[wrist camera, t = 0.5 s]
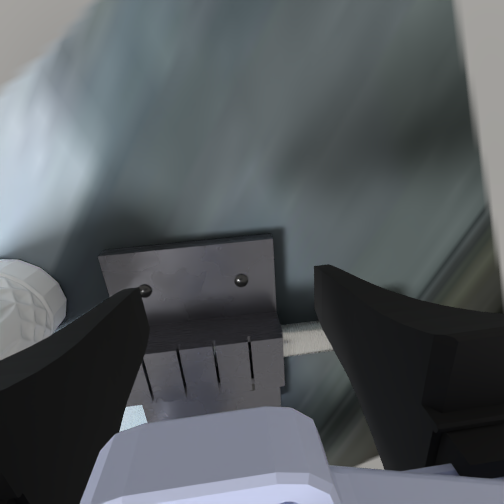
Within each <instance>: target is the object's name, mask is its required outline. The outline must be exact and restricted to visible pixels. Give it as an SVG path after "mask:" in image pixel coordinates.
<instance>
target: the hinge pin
mask: <svg viewBox="0 0 504 504" xmlns="http://www.w3.org/2000/svg"><path fill="white" fill-rule="evenodd" d="M281 328H282V331H283V352H284V357H290V356H298V355H306V354H314V353H322V352H330V351H334V349H333V348H332V346H331V344H330V342H329V340H328V339H327V337H326V335H325V333H324V331H323V329H322V327H321V325H320V322H319V321H311V322H303V323H294V324H286V325H281ZM213 348H214V354H215V360H216V366H218V362H217V355H216V349H215V346H213ZM248 349H249V360H250V361H252V352H251V342H248Z"/></svg>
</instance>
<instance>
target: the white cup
mask: <svg viewBox="0 0 504 504" xmlns="http://www.w3.org/2000/svg"><path fill="white" fill-rule="evenodd" d="M66 302H67V299H66V297H65V295H64V293H63V291H62V289H61V287H60V285H59V283H58V282H57V281H56V280H55V279H54V278H52V277H51V276H50V275H49V274H48V273H46V272H45V271H44V270H43V269H42V268H40V267H37V266H35V265H32V264H29V263H27V262H24V261H21V260H19V259H0V360H2V359H4V358H6V357H9V356H11V355H13V354H15V353H17V352H19V351H22V350H24V349H26V348H28V347H30V346H32V345H34V344H36V343H38V342H39V341H41V340H43V339H45V338H47V337H49V336H51V335H52V334H53V333H54V331H55V330H56V329H57V327H58V326H59V325H60V323H61V322H62V321H63V320H64V318H65V317H66Z"/></svg>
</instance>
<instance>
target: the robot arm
mask: <svg viewBox="0 0 504 504" xmlns="http://www.w3.org/2000/svg"><path fill="white" fill-rule="evenodd" d="M314 308H315V311H316V314H317V317H318V319H319V322H320V325H321V327H322V329H323V331H324V333H325V335H326V337H327V339H328V340H329V342H330V344H331V346H332V348H333V349H334V351H335V353H336V355H337V357H338V359H339V360H340V362H341V364H342V366H343V368H344V369H345V371H346V373H347V375H348V377H349V379H350V382H351V384H352V386H353V389H354V391H355V394H356V396H357V398H358V401H359V403H360V406H361V408H362V411H363V413H364V416H365V418H366V421H367V423H368V426H369V428H370V431H371V434H372V436H373V439H374V442H375V445H376V447H377V450H378V453H379V455H380V458H381V461H382V463H383V466H384V469H385V470H380V469H368V468H356V467H344V466H332V465H329V464H328V461H327V458H326V454H325V451H324V448H323V445H322V442H321V439H320V436H319V433H318V431H317V428H316V426H315V423H314V421H313V419H311V418H310V417H308V416H306V415H304V414H302V413H301V412H299V411H297V410H295V409H294V408H290V407H274V406H262V407H255V408H248V409H241V410H234V411H227V412H220V413H213V414H206V415H199V416H192V417H185V418H178V419H172V420H165V421H158V422H151V423H144V424H142V425H139V426H136V427H133V428H130V429H127V430H124V431H121V432H119V430H120V426H121V422H122V418H123V414H124V411H125V408H126V405H127V401H128V399H129V396H130V393H131V390H132V388H133V385H134V382H135V380H136V377H137V374H138V371H139V369H140V366H141V363H142V360H143V357H144V355H145V352H146V348H147V343H148V338H149V333H150V326H149V323H148V319H147V315H146V311H145V308H144V304H143V300H142V297H141V293H140V289H139V287H137V288H128V289H123V290H121V291H119V292H117V293H116V294H114V295H112V296H111V297H109V298H108V299H106V300H105V301H104V302H102V303H101V304H99V305H98V306H96V307H95V308H93V309H92V310H90V311H89V312H88V313H86V314H85V315H83V316H81V317H80V318H78V319H77V320H75V321H74V322H72V323H70V324H69V325H67V326H66V327H64V328H63V329H61V330H59V331H58V332H56V333H54V334H52V335H51V336H49V337H47V338H45V339H43V340H41V341H39V342H38V343H36V344H34V345H32V346H30V347H28V348H26V349H24V350H22V351H19V352H17V353H15V354H13V355H11V356H9V357H6V358H4V359H2V360H0V504H504V314H499V313H488V312H480V311H473V310H466V309H460V308H454V307H449V306H443V305H439V304H434V303H430V302H426V301H422V300H418V299H414V298H411V297H407V296H404V295H401V294H398V293H395V292H392V291H389V290H386V289H384V288H381V287H379V286H376V285H374V284H371V283H369V282H367V281H365V280H362V279H360V278H358V277H356V276H354V275H352V274H349V273H347V272H345V271H343V270H341V269H339V268H337V267H334V266H332V265H329V264H328V265H320V266H314Z"/></svg>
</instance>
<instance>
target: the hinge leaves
mask: <svg viewBox="0 0 504 504" xmlns="http://www.w3.org/2000/svg"><path fill="white" fill-rule="evenodd" d="M98 260H99V263H100V266H101V270H102V273H103V276H104V280H105V283H106V286H107V289H108V293H109V296H110V297H111V296H112V295H114V294H116V293H117V292H119V291H121V290H123V289H128V288H137V287H139V289H140V293H141V297H142V300H143V304H144V308H145V311H146V315H147V319H148V323H149V326H150V333H149V338H148V343H147V348H146V352H145V355H144V357H143V360H142V363H141V366H140V369H139V371H138V374H137V377H136V380H135V382H134V385H133V388H132V390H131V393H130V396H129V399H128V401H127V405H126V407H128V406H135V405H143V409H144V412H145V415H146V419H147V422H148V423H151V422H158V421H165V420H172V419H178V418H185V417H192V416H199V415H206V414H213V413H220V412H227V411H234V410H241V409H248V408H255V407H262V406H274V407H281V396H280V387H281V386H285V377H284V352H283V331H282V328H281V325H280V321H279V318H278V315H277V311H276V292H275V271H274V250H273V238H272V236H271V234H270V233H268V234H258V235H248V236H238V237H228V238H218V239H208V240H198V241H188V242H178V243H168V244H158V245H148V246H138V247H128V248H118V249H108V250H104V251H103V252H102V253H101V254H100V255H99V256H98ZM248 342H251V352H252V361H250V360H249V349H248ZM213 346H215V349H216V355H217V362H218V366H216V360H215V354H214V348H213ZM178 350H179V351H178Z"/></svg>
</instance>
